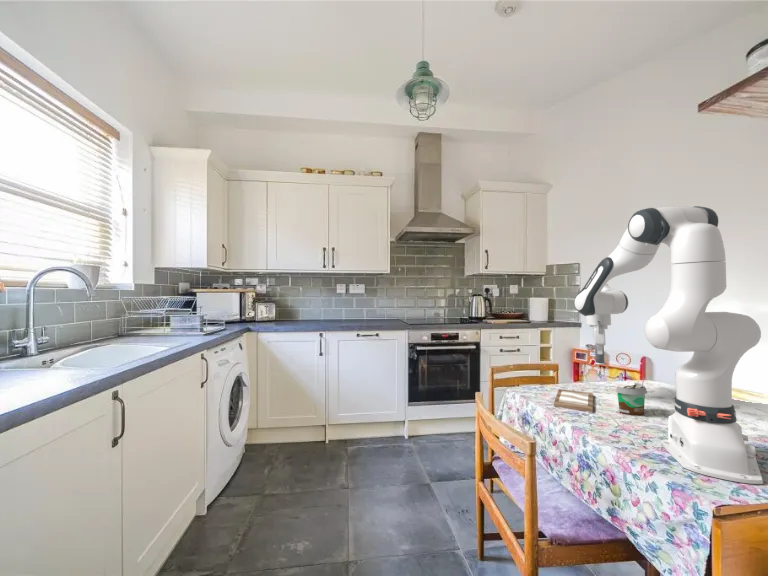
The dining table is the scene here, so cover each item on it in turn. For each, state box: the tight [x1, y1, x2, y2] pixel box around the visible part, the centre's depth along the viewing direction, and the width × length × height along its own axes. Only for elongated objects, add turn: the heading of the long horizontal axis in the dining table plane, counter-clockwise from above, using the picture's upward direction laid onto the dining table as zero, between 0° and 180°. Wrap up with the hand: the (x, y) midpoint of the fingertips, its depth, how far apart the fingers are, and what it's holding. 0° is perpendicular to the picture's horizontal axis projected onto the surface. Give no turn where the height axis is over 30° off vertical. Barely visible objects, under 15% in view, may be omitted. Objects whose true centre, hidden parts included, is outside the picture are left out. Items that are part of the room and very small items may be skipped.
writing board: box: [553, 388, 594, 413], centre depth 133 cm, size 22×13×1 cm, turn 147°
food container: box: [615, 382, 648, 417], centre depth 118 cm, size 12×6×10 cm, turn 114°
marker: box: [594, 344, 606, 366], centre depth 136 cm, size 3×3×12 cm
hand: (599, 353), depth 136 cm, fingers closed on marker, 3 cm apart
